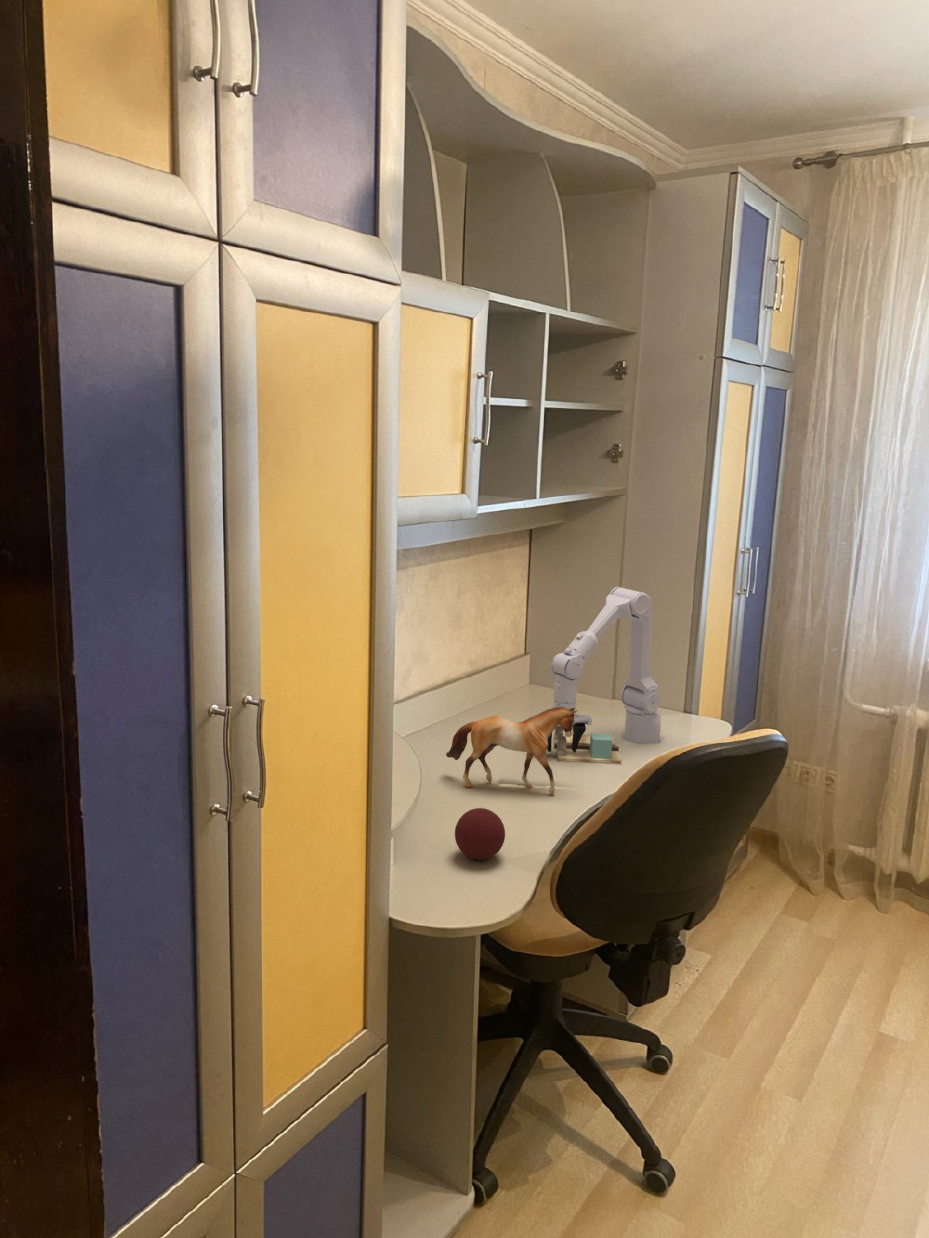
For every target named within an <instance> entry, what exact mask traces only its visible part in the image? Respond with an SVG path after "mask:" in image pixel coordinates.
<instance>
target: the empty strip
mask: <svg viewBox="0 0 929 1238" xmlns="http://www.w3.org/2000/svg"><path fill="white" fill-rule="evenodd" d="M553 732H554V733H553V739H554V743H557V742H558V736H566V735H565V733H564V730H563V728H562V727H561V726H560V725H557V726H556V728H555V729H554V730H553ZM590 737H591V734H583V735H582V737H581V739H580V741H579V743H578V744H581V745H590ZM611 738H612V746H616V742H615V739H614V736H613V735H611ZM572 740H573V735H572V736H571V737H567V736H566V741H567V744H572Z"/></svg>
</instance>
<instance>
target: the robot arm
mask: <svg viewBox="0 0 929 1238" xmlns="http://www.w3.org/2000/svg"><path fill="white" fill-rule="evenodd" d="M653 615H654V614H653V611H652V597H651V596H650V595H648V593H646V592H644V591H637V590H633V589H630V588H629V589H628V588H623V587H622V586H615V587H614V588H613V589H611V590H610V593H609V594H608V595H607V596H606V597H605V605H604V606H603V608H602V609H601V611H600V612H599V613H598V615H597V616H596V618H594V620H593V622H592V623H591V624H590V626H589V628H587V630H585V631H584V630H583V631H579V632H578V633H577V634H576V635H575V637H574V639H573V640H572V641H571V642H570V644H569V645H568V646H567V647H566V648H565V649H564V650H563V652H560V653H557V654H556V655H555V656H553V658H552V661H551V663H550V665H549V667H550V671H551V672H552V676H553V677H552V679H553V680H554V681H553V682H554V683H553V698H552V699H553V700H552V701H553V703H552V708H556V707H565V708H567V709H571V708H575V710H573V711H576V707H577V706H576V705H577V704H576V703H577V687H578V678H579V677H580V676H582V674H583V672H584V667H585V665H586V661H587V659H588V658H589V657H590V656H591V655H592V653H593V652H594V651H595V650H596V649H597V647H598V646H599V641H598V640H599V638H601V636H602V635H603V634H604V633H605V632H607V630H609V628H610V627H611V626H612V625H613V624H614V623H615V622H616V621H617V620H619V619H629V620H630V622H631V623H630V624H631V626H630V627H631V628H630V633H631V634H630V663H629V664H630V671H629V676H628V678H626V679H624V681H623V687H622V690H621V693H620V701H621V703H622V704H623V705H624V707H623V708H624V709H625V721H624V731H623V732H624V733H623V734H624V735H623V739H624V740H625V741H627V742H630V743H632V744H633V743H634V744H660V737H661V735H660V734H661V728H662V727H661V724H662V722H661V720H662V719H661V717H662V716H661V713H660V711H657V710H658V709H659V707H660V704H661V695H660V692H659V685H658V684H657V683H656V681H655V680H654V679H653V678H652V676H651V675H652V673H651V671H652V645H653V644H652V641H653ZM592 724H593V717H592V716H591V715H584V714H576V713H574V722H573V740H572V751H573V752H576V749H577V746H578V743H579V741H580V739H581V737H582V735H585V734H584V733H585V732H586V729H587V727H586V725H588V726H592ZM552 738H553V732H552V733H551V735H550V736H549V738H548V748H547V752H548V753H551V752H552Z"/></svg>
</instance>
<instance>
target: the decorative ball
mask: <svg viewBox="0 0 929 1238" xmlns="http://www.w3.org/2000/svg"><path fill="white" fill-rule="evenodd" d="M505 838H506V829H505V825H504V823H503V821H502V818H500V817H499V815H498V814H497V813H496V812H494V811H492V810H491V809H488V808H485V807H484V808H483V807H477V808H472V809H469V810H468V811H466V812H465V813H463V814H462V815H461V816H460V818H459V819H458V821H456V825H455V828H454V839H455V843H456V846H457V848H458V849H459V850H460V852H461V853H462V854H463V855H464V856H466V857H468V858H470V859H472V860H476V861H477V860H478V861H479V860H481V861H482V860H488V859H490V858H492V857H494V856H495V855H497V854H498V853H499V852H500V850H501V849H502V847H503V845H504V843H505V841H506V840H505Z"/></svg>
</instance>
